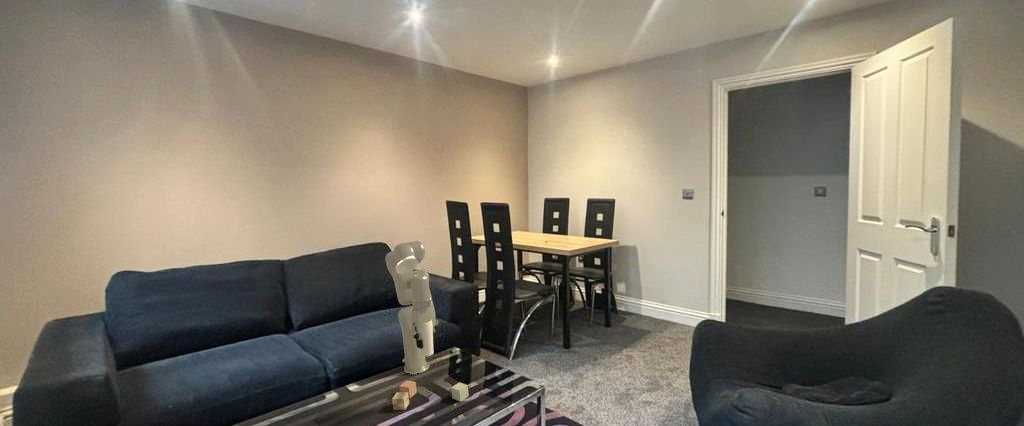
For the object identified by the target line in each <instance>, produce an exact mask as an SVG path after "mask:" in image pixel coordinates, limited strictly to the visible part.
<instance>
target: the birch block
mask: <svg viewBox="0 0 1024 426" xmlns="http://www.w3.org/2000/svg"><path fill="white" fill-rule="evenodd" d="M391 401H392V406H393V407H392V409H393V411H406V410H407V407H408V406H409V404H410V398H409V397H408V392H400V391H399V392H398V391H397V392H396V393H395V394H394V396H393V397H392V398H391Z"/></svg>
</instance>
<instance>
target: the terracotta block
mask: <svg viewBox="0 0 1024 426" xmlns="http://www.w3.org/2000/svg"><path fill="white" fill-rule="evenodd" d="M417 390H418V389H417V382H416V381H411V380H405V381H404V382H402V383H401V384H400V385H399V392H408V397H409V399H412V397H413V396H415V395H416V394H417V392H418V391H417Z"/></svg>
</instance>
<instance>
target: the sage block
mask: <svg viewBox="0 0 1024 426" xmlns="http://www.w3.org/2000/svg"><path fill="white" fill-rule="evenodd" d="M450 391H451V398H452V400H456V401H457V402H462V401H464V400H465V399H467V398H468V397H469V396H470V395H469V385H467V384H466V383H462V382H458V383H456V384H454V385H453V386H452V387H450Z"/></svg>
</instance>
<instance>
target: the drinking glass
mask: <svg viewBox="0 0 1024 426" xmlns="http://www.w3.org/2000/svg"><path fill="white" fill-rule="evenodd" d="M418 335H419V333H418ZM421 339H422V343H423V348H422V349H420V351H421V355H422V356H424V357H425V358H427V357H430V356H432V355H434V351H435V350H434V342H433V325H432V320H431V321H429V322H427V323H423V332H422V333H421Z"/></svg>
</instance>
